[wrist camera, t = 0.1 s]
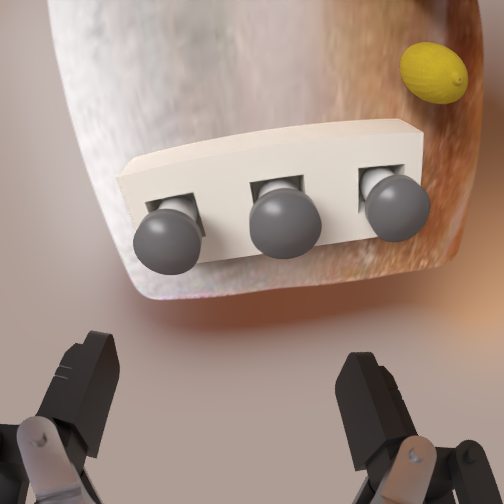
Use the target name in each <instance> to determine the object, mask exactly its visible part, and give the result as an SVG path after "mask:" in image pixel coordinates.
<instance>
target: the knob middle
mask: <svg viewBox="0 0 504 504" xmlns="http://www.w3.org/2000/svg"><path fill="white" fill-rule="evenodd" d="M249 230H250V237H251V240H252V242H253V244H254V245H255V247H256V248H257V249H258V250H259V251H260V252H262V253H263V254H265V255H267V256H269V257H272V258H277V259H290V258H294V257H298V256H300V255H302V254H304V253H306V252H307V251H309V250H310V249H311V248H312V247H313V246H314V245H315V244H316V242H317V241H318V239H319V237H320V234H321V230H322V222H321V218H320V215H319V213H318V210H317V208H316V206H315V204H314V202H313V201H312V199H311V198H310V197H309V196H308V195H306V194H305V193H303V192H301V191H299V190H298V187H297V185H296V184H295V183H294V182H293V181H292V180H290V179H288V178H285V177H281V178H274V179H268V180H267V181H265V182H264V183H263V184H262V185H261V187H260V188H259V191H258V200H257V201H256V202H255V203H254V205H253V207H252V209H251V211H250V216H249Z"/></svg>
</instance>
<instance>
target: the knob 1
mask: <svg viewBox="0 0 504 504" xmlns="http://www.w3.org/2000/svg"><path fill="white" fill-rule="evenodd" d="M197 217H198V210H197V207H196V205H195V204H194V202H193V201H192V200H191V199H189V198H188V197H186V196H183V195H176V196H171V197H167V198H165V199H164V200H163V201H162V202H161V204H160V206H159V208H158V210H155V211H152V212H151V213H149V214H148V215H146V216H145V217H144V218H143V220H142V221H141V223H140V225H139V227H138V229H137V231H136V233H135V235H134V239H133V247H134V251H135V254H136V256H137V257H138V259H139V260H140V261H141V263H142V264H144V265H145V266H146V267H147V268H149V269H150V270H152V271H154V272H157V273H160V274H164V275H178V274H182V273H184V272H187V271H188V270H190V269H191V268H192V267H193V266H194V265H195V264H196V263H197V261H198V259H199V255H200V250H201V244H202V235H201V231H200V228H199V227H198V225H197V224H196V221H197Z"/></svg>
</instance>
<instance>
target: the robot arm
mask: <svg viewBox="0 0 504 504" xmlns="http://www.w3.org/2000/svg"><path fill="white" fill-rule="evenodd" d="M119 373H120V366H119V360H118V356H117V352H116V347H115V342H114V338H113V335H112V334H108V333H102V332H97V331H90V332H89V333H88V335H87V337H86V339H85V341H84V343H83V344H78V343H75V344H74V345H73V346H72V347H71V348H70V349H68V350H67V351H66V352H65V354H64V356H63V358H62V360H61V362H60V364H59V367H58V368H57V370H56V372H55V376H54V377H53V379H52V381H51V383H50V385H49V388H48V390H47V392H46V394H45V396H44V399H43V401H42V404H41V406H40V408H39V410H38V412H37V414H36V415H35V416H33V417H29V418H27V419H26V420H24V421H23V422H22V423H21V424H20V425H8V424H0V504H25V501H26V496H27V491H28V487H29V482H30V483H31V486H32V488H33V491H34V493H35V496H36V502H35V503H34V504H104V503H103V501H102V500H101V498H100V496H99V494H98V492H97V490H96V489H95V487H94V485H93V483H92V481H91V479H90V477H89V475H88V473H87V471H86V469H85V467H84V463H85V459H86V456H89V457H93V458H97V454H98V450H99V446H100V442H101V439H102V435H103V431H104V428H105V424H106V420H107V417H108V413H109V410H110V406H111V403H112V400H113V396H114V393H115V390H116V386H117V383H118V380H119ZM335 394H336V398H337V402H338V406H339V409H340V413H341V417H342V421H343V425H344V428H345V432H346V436H347V440H348V444H349V448H350V452H351V456H352V460H353V463H354V468H355V471H359V470H367V473H368V476H367V477H366V478H365V480H364V482H363V484H362V486H361V488H360V490H359V492H358V493H357V495H356V497H355V499H354V501H353V503H352V504H456V503H455V499H454V495H453V492H452V490H454V489H455V491H456V495H457V498H458V501H459V504H503V503H502V500H501V496H500V493H499V490H498V487H497V484H496V482H495V478H494V476H493V473H492V470H491V468H490V465H489V462H488V460H487V457H486V454H485V451H484V450H483V448H482V446H481V445H480V444H478V443H477V442H476V441H473V440H465V441H463V442H461V443H460V444H459V445H458V446H457V447H456V448H444V447H434V445H433V444H432V443H431V442H430V441H429V440H428V439H427V438H425V437H422V436H419V435H418V434H417V432H416V429H415V427H414V424H413V422H412V420H411V417H410V415H409V412H408V410H407V407H406V405H405V403H404V400H402V396H401V393H400V391H399V390H398V386H397V384H396V382H395V380H394V377H393V376H392V375H391V373H390V372H389V371H388V370H387V369H386V368H385V367H384V366H378V363H377V361H376V359H375V357H374V355H373V353H371V352H352V353H350V354H349V355H348V357H347V359H346V361H345V363H344V365H343V368H342V370H341V372H340V374H339V376H338V378H337V380H336V384H335Z"/></svg>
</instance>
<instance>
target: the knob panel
mask: <svg viewBox="0 0 504 504" xmlns="http://www.w3.org/2000/svg"><path fill="white" fill-rule="evenodd" d="M423 135H424V133H423V132H422V131H420V130H418V129H417V128H415V127H413V126H411V125H410V124H408V123H406V122H404V121H402V120H401V119H399V118H397V119H370V120H353V121H340V122H328V123H318V124H308V125H299V126H291V127H283V128H276V129H269V130H262V131H255V132H249V133H243V134H237V135H232V136H226V137H221V138H215V139H210V140H205V141H200V142H196V143H191V144H186V145H182V146H177V147H173V148H169V149H165V150H160V151H156V152H152V153H148V154H145V155H141V156H137V157H133V159H132V160H131V161H130V162H129V163H128V164H127V165H126V166H125V168H124V169H123V170H122V171H121V172H120V173H119V174H118V176H117V177H116V180H117V183H118V185H119V188H120V191H121V193H122V196H123V199H124V201H125V204H126V207H127V209H128V212H129V214H130V217H131V219H132V222H133V224H134V227H135V229H136V231H137V229H138V227H139V225H140V223H141V221H142V220H143V218H144V217H145V216H146V215H148V214H149V213H151V212H152V211H155V210H158V208H159V206H160V204H161V202H162V201H163V200H164V199H165V198H167V197H171V196H176V195H183V196H186V197H188V198H189V199H191V200H192V201H193V202H194V204H195V205H196V207H197V210H198V217H197V221H196V224H197V225H198V227H199V228H200V231H201V235H202V244H201V250H200V255H199V259H198V261H197V263H204V262H211V261H218V260H224V259H231V258H238V257H245V256H252V255H259V254H263V253H262V252H260V251H259V250H258V249H257V248H256V247H255V245H254V244H253V242H252V240H251V237H250V230H249V216H250V211H251V209H252V207H253V205H254V203H255V202H256V201H257V200H258V191H259V188H260V187H261V185H262V184H263V183H264V182H265V181H267V180H268V179H274V178H281V177H285V178H288V179H290V180H292V181H293V182H294V183H295V184H296V185H297V187H298V190H299V191H301V192H303V193H305V194H306V195H308V196H309V197H310V198H311V199H312V201H313V202H314V204H315V206H316V208H317V210H318V213H319V215H320V218H321V222H322V230H321V234H320V237H319V239H318V241H317V242H316V244H315V245H314V246H319V245H326V244H333V243H339V242H346V241H353V240H360V239H366V238H373V237H378V236H377V235H376V233H375V232H374V230H373V229H372V227H371V226H370V224H369V222H368V220H367V218H366V216H365V202H366V201H365V199H364V198H363V196H362V195H361V193H360V191H359V187H358V183H359V179H360V177H361V175H362V173H363V172H364V171H365V170H366V169H368V168H369V167H375V166H386V167H387V168H389V169H390V170H391V171H392V172H393V173H394V174H395V175H399V174H400V175H406V176H408V177H410V178H412V179H413V180H414V181H416V182H417V183H418V184H419V185H420V184H421V172H422V157H423ZM197 263H196V264H197Z"/></svg>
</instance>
